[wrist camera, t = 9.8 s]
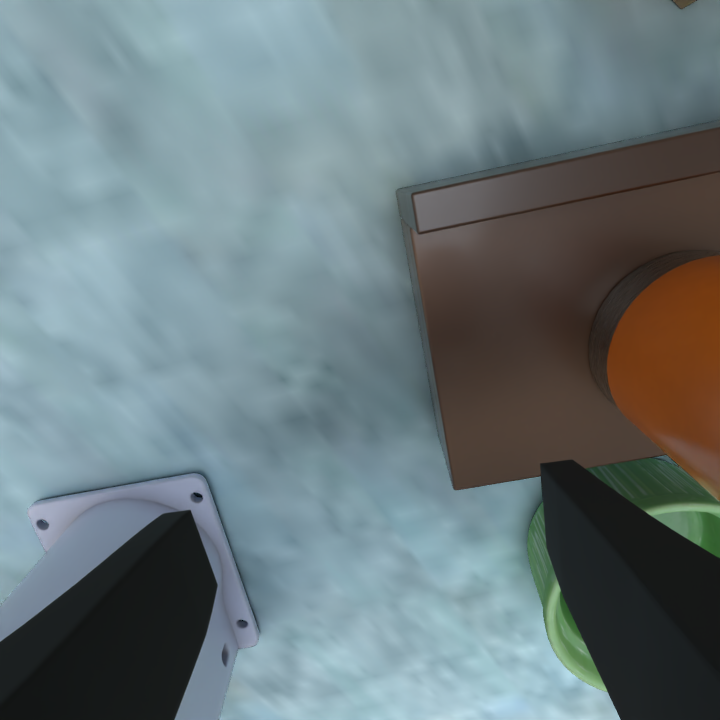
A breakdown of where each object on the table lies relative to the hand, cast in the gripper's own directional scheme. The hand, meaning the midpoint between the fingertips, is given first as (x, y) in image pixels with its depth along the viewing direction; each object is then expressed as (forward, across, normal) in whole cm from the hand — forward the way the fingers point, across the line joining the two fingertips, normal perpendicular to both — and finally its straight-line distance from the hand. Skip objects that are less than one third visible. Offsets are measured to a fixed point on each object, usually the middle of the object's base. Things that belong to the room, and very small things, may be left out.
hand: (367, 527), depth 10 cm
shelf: (+11, -9, -1) cm, 14 cm away
